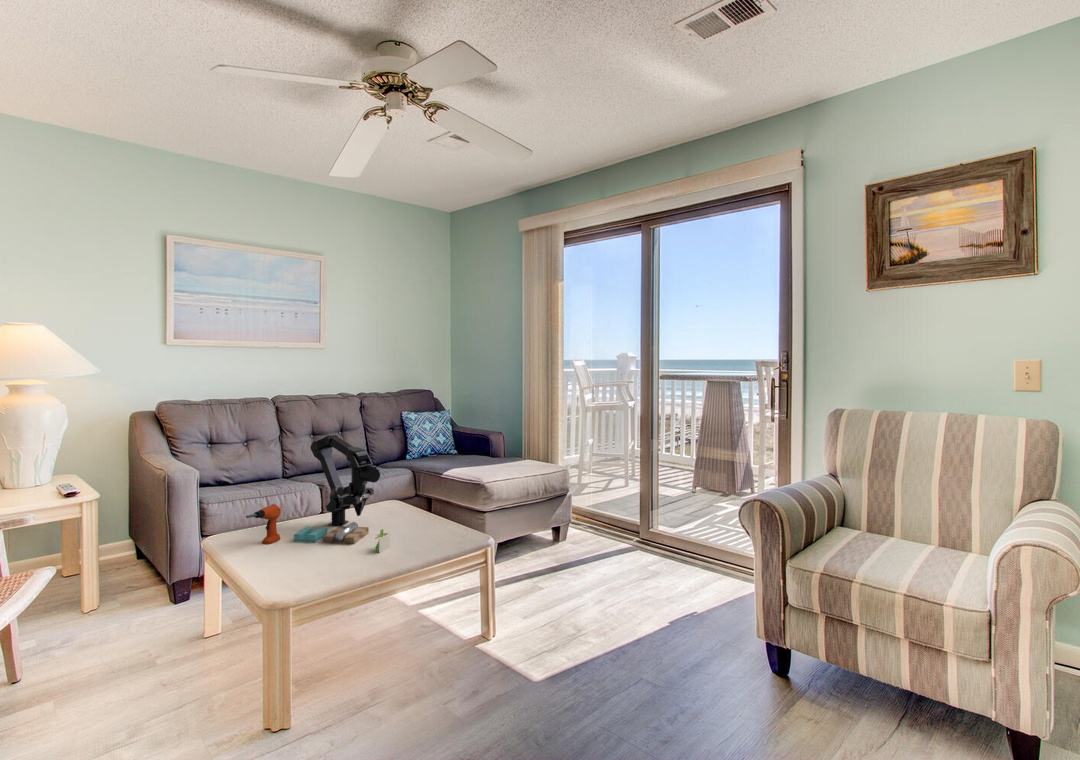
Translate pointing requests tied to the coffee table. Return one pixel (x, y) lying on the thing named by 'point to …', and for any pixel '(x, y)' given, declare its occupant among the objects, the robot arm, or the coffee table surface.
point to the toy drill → (269, 522)
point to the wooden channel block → (350, 538)
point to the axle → (345, 531)
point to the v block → (310, 534)
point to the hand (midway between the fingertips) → (358, 515)
